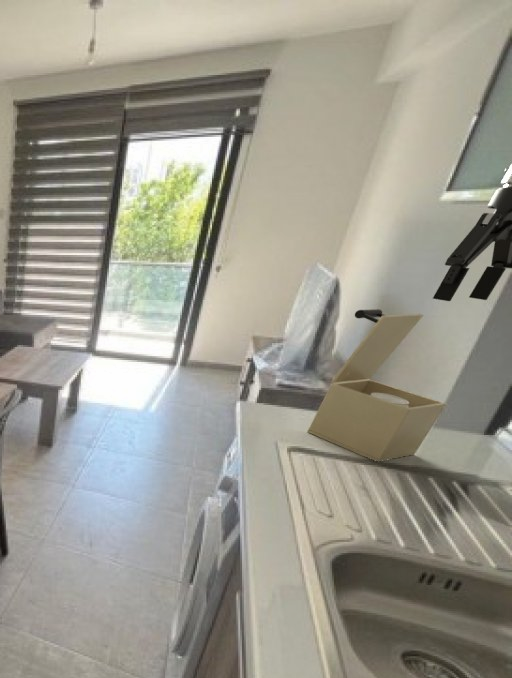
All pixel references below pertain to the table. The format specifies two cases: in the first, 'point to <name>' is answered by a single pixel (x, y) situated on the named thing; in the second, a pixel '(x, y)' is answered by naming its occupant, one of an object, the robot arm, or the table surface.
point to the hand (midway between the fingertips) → (459, 299)
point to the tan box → (374, 419)
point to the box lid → (376, 344)
